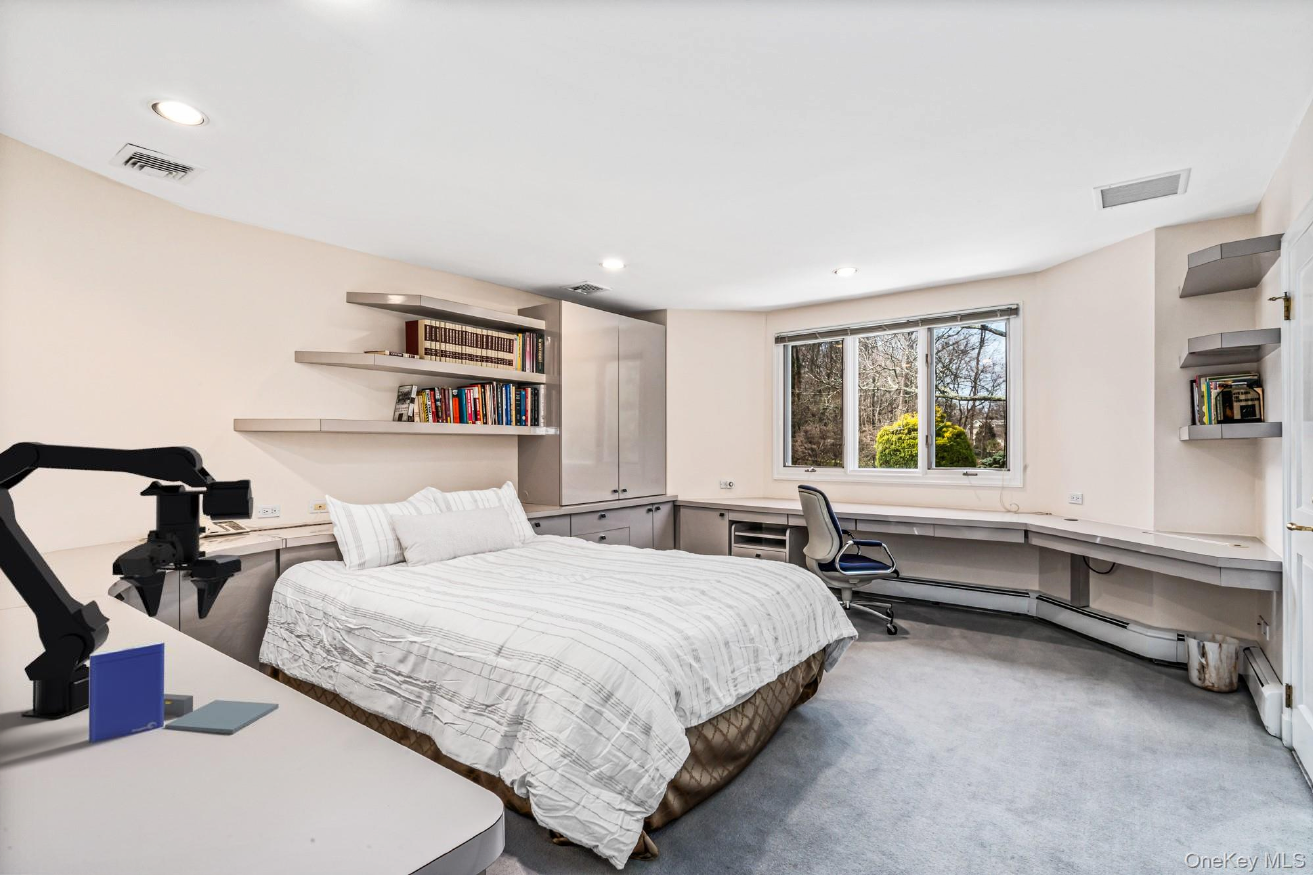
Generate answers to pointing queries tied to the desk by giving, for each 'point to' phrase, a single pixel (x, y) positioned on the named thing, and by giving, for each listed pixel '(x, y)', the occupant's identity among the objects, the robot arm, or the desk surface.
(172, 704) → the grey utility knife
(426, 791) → the desk surface
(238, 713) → the mat
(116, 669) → the hard drive
